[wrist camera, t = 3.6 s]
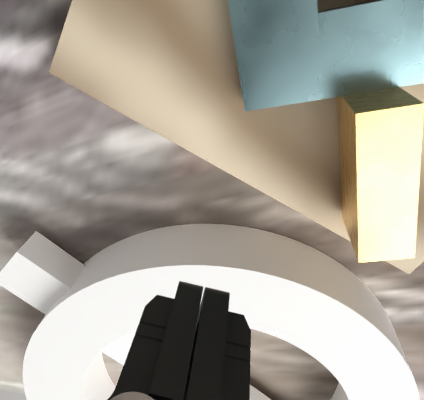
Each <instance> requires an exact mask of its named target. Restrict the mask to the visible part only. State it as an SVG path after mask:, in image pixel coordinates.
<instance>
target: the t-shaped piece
mask: <svg viewBox="0 0 424 400" xmlns="http://www.w3.org/2000/svg"><path fill="white" fill-rule="evenodd" d="M228 5H229V12H230V18H231V25H232V31H233V38H234V44H235V51H236V58H237V64H238V71H239V77H240V84H241V90H242V97H243V103H244V110H245V111H252V110H258V109H264V108H271V107H277V106H283V105H289V104H296V103H302V102H308V101H315V100H321V99H327V98H333V97H337V108H338V132H339V156H340V180H341V203H342V219H343V222H344V224H345V227H346V230H347V232H348V235H349V238H350V240H351V243H352V246H353V248H354V251H355V254H356V257H357V259H358V262H371V261H383V260H395V259H407V258H415V246H416V229H417V213H418V196H419V180H420V163H421V146H422V130H423V113H424V103H423V102H421V101H420V100H418V99H417V98H415V97H414V96H412V95H411V94H409V93H408V92H406V91H405V90H403V89H402V88H400V87H403V86H409V85H415V84H421V83H424V0H371V1H366V2H361V3H356V4H351V5H346V6H341V7H336V8H331V9H326V10H321V11H318V7H317V0H228Z"/></svg>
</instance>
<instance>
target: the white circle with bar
mask: <svg viewBox="0 0 424 400" xmlns="http://www.w3.org/2000/svg"><path fill="white" fill-rule="evenodd" d="M179 281H182V282H186V283H190V284H195V285H199V286H203V292H202V297H203V293H204V289H205V287H208V288H212V289H216V290H221V291H225V292H229V293H230V298H229V310H228V311H229V312H234V313H238V314H242V315H244V316H245V319H246V321H247V323H248V325H249V328H250V329H254V330H257V331H261V332H264V333H267V334H270V335H273V336H275V337H277V338H280V339H282V340H285V341H287V342H289V343H291V344H293V345H295V346H296V347H298V348H300V349H302V350H303V351H305V352H307V353H308V354H310V355H311V356H312V357H314V358H315V359H317V360H318V361H319V362H320V363H321V364H323V365H324V366H325V367H326V368H327V369H328V370H329V371H330V372H331V373H332V374H333V375H334V376H335V378H336V379H337V380H338V381H339V382H338V386H337V388H336V390H335V392H334V394H333V396H332V398H331V399H330V400H420V399H419V393H418V389H417V385H416V383H415V380H414V377H413V375H412V372H411V370H410V367H409V365H408V362H407V360H406V357H405V355H404V352H403V350H402V348H401V345H400V343H399V340H398V338H397V335H396V333H395V330H394V328H393V325H392V323H391V321H390V319H389V317H388V315H387V313H386V311H385V309H384V308H383V306H382V304H381V303H380V302H379V300H378V299H377V298H376V296H375V295H374V294H373V293H372V291H371V290H370V289H369V288H368V287H367V286H366V285H365V284H364V283H363V282H362V281H361V280H360V279H359V278H358V277H357V276H356V275H354V274H353V273H352V272H351V271H350V270H348V269H347V268H346V267H344V266H343V265H341V264H340V263H339V262H337V261H336V260H334V259H332V258H331V257H329V256H327V255H326V254H324V253H322V252H320V251H318V250H316V249H314V248H312V247H310V246H308V245H306V244H303V243H301V242H299V241H296V240H293V239H291V238H288V237H285V236H282V235H278V234H275V233H272V232H268V231H264V230H259V229H255V228H249V227H243V226H235V225H227V224H185V225H176V226H168V227H163V228H158V229H153V230H149V231H146V232H142V233H139V234H136V235H133V236H130V237H127V238H125V239H123V240H120V241H118V242H116V243H114V244H112V245H110V246H108V247H106V248H105V249H103V250H101V251H100V252H98V253H97V254H95V255H94V256H92V257H91V258H90V259H88V260H87V261H86V262H85V263H84V264H82V263H81V262H79V261H78V260H77V259H75V258H74V257H72V256H71V255H70V254H68V253H67V252H65V251H64V250H62V249H61V248H60V247H58V246H57V245H55V244H54V243H53V242H51V241H50V240H48V239H47V238H46V237H44V236H43V235H41V234H40V233H39V232H37V231H35V233H34V234H33V235H32V236H31V237H30V238H29V239H28V240H27V241H26V242H25V243H24V244H23V245H22V247H21V248H20V249H19V250H18V251H17V252H16V253H15V254H14V256H13V257H12V258H11V259H10V261H9V262H8V263H7V264H6V266H5V267H4V268H3V269H2V271H1V272H0V285H1V286H2V287H4V288H5V289H7V290H8V291H10V292H11V293H13V294H14V295H16V296H17V297H19V298H21V299H22V300H24V301H25V302H27V303H28V304H30V305H31V306H33V307H34V308H36V309H37V310H39V311H40V312H42V313H44V314H45V316H44V318H43V319H42V321H41V323H40V324H39V326H38V327H37V329H36V330H35V332H34V333H33V335H32V337H31V339H30V341H29V344H28V346H27V349H26V352H25V356H24V362H23V386H24V391H25V395H26V398H27V400H107V399H108V398H109V397H110V396H111V395H112V393H113V392H114V390H115V388H116V387H115V385H114V384H113V382H112V381H111V379H110V377H109V375H108V373H107V371H106V368H105V365H104V362H103V357H102V352H103V353H105V354H106V355H108V356H109V357H111V358H113V359H114V360H116V361H117V362H119V363H120V364H122V365H123V366H124V363H125V361H126V358H127V355H128V352H129V350H130V347H131V344H132V341H133V338H134V336H135V333H136V330H137V327H138V324H139V322H140V319H141V316H142V313H143V310H144V308H145V306H146V305H147V304H148V303H149V302H150V301H151V300H152V299H153V298H154V297H155V296H156V295H161V296H165V297H169V298H173V299H174V298H175V295H176V291H177V287H178V284H179ZM201 300H202V298H201ZM200 304H201V303H200ZM250 400H271V399H270V398H268V397H267V396H266V395H264V394H263V393H261V392H260V391H259V390H257V389H256V388H254V387H253V386H251V385H250Z"/></svg>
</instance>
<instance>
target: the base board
mask: <svg viewBox="0 0 424 400" xmlns="http://www.w3.org/2000/svg"><path fill="white" fill-rule="evenodd" d="M366 1H371V0H317V7H318V11H321V10H326V9H331V8H336V7H341V6H346V5H351V4H356V3H361V2H366ZM49 73H50V74H52V75H54V76H56V77H58V78H59V79H61V80H63V81H65V82H67V83H68V84H70V85H72V86H74V87H75V88H77V89H79V90H81V91H83V92H84V93H86V94H88V95H90V96H92V97H93V98H95V99H97V100H99V101H100V102H102V103H104V104H106V105H108V106H109V107H111V108H113V109H115V110H117V111H118V112H120V113H122V114H124V115H125V116H127V117H129V118H131V119H133V120H134V121H136V122H138V123H140V124H142V125H143V126H145V127H147V128H149V129H150V130H152V131H154V132H156V133H158V134H159V135H161V136H163V137H165V138H167V139H168V140H170V141H172V142H174V143H175V144H177V145H179V146H181V147H183V148H184V149H186V150H188V151H190V152H192V153H193V154H195V155H197V156H199V157H200V158H202V159H204V160H206V161H208V162H209V163H211V164H213V165H215V166H217V167H218V168H220V169H222V170H224V171H225V172H227V173H229V174H231V175H233V176H234V177H236V178H238V179H240V180H242V181H243V182H245V183H247V184H249V185H251V186H252V187H254V188H256V189H258V190H259V191H261V192H263V193H265V194H267V195H268V196H270V197H272V198H274V199H276V200H277V201H279V202H281V203H283V204H284V205H286V206H288V207H290V208H292V209H293V210H295V211H297V212H299V213H301V214H302V215H304V216H306V217H308V218H309V219H311V220H313V221H315V222H317V223H318V224H320V225H322V226H324V227H326V228H327V229H329V230H331V231H333V232H334V233H336V234H338V235H340V236H342V237H343V238H345V239H347V240H349V241H351V240H350V238H349V235H348V232H347V230H346V227H345V224H344V222H343V219H342V203H341V180H340V156H339V132H338V108H337V97H333V98H327V99H321V100H315V101H308V102H302V103H296V104H289V105H283V106H277V107H271V108H264V109H258V110H252V111H245V110H244V103H243V97H242V90H241V84H240V77H239V71H238V64H237V58H236V51H235V44H234V38H233V31H232V25H231V18H230V12H229V5H228V0H72V2H71V5H70V9H69V12H68V15H67V18H66V21H65V24H64V27H63V30H62V33H61V36H60V39H59V42H58V46H57V49H56V52H55V55H54V58H53V61H52V64H51V67H50V70H49ZM400 88H402V89H403V90H405V91H406V92H408V93H409V94H411V95H412V96H414V97H415V98H417V99H418V100H420V101H421V102H423V103H424V83H421V84H415V85H409V86H403V87H400ZM384 261H386V262H388V263H390V264H392V265H393V266H395V267H397V268H399V269H401V270H402V271H404V272H406V273H408V274H410V273H411V272H413V271H414V270H415V269H416V268H417V267H418V266H419V265H420V264H421V263H422V262H423V261H424V113H423V130H422V146H421V163H420V180H419V196H418V213H417V229H416V246H415V258H407V259H395V260H384Z"/></svg>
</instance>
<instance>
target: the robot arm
mask: <svg viewBox="0 0 424 400" xmlns="http://www.w3.org/2000/svg"><path fill="white" fill-rule="evenodd" d="M202 292H203V286H199V285H195V284H190V283H186V282H182V281H179V284H178V287H177V291H176V295H175V298H174V299H173V298H169V297H165V296H161V295H156V296H155V297H154V298H153V299H152V300H151V301H150V302H149V303H148V304H147V305H146V306H145V308H144V310H143V313H142V316H141V319H140V322H139V324H138V327H137V330H136V333H135V336H134V338H133V341H132V344H131V347H130V350H129V352H128V355H127V358H126V361H125V363H124V366H123V369H122V372H121V375H120V377H119V380H118V383H117V386H116V388H115V390H114V392H113V393H112V395H111V396H110V397H109V398H108V399H107V400H250V346H251V330H250V328H249V325H248V323H247V321H246V319H245V316H244V315H242V314H238V313H234V312H229V311H228V310H229V298H230V293H229V292H225V291H221V290H216V289H212V288H208V287H205V289H204V293H203V297H202ZM201 298H202V300H201ZM200 303H201V304H200Z"/></svg>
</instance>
